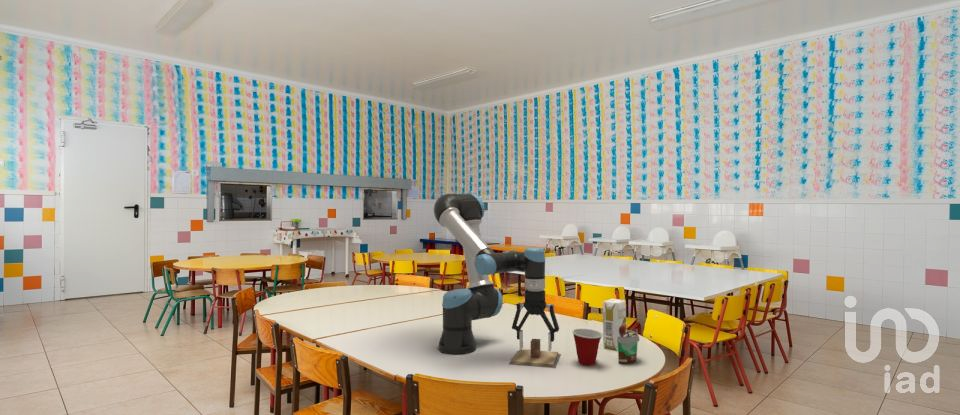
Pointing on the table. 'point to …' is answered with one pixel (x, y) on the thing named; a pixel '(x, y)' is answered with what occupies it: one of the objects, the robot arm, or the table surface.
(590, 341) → the plastic cup
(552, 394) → the table surface
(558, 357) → the mat
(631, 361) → the food container
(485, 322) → the table surface
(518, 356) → the lid
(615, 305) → the juice carton
